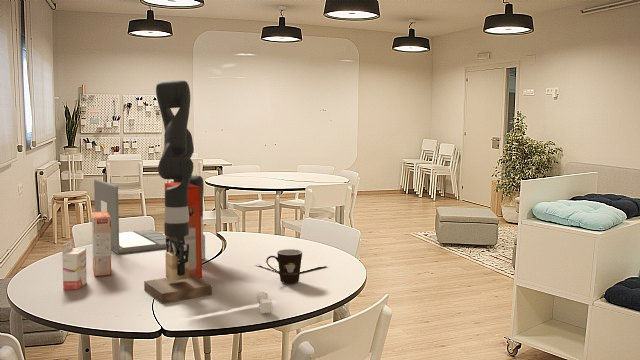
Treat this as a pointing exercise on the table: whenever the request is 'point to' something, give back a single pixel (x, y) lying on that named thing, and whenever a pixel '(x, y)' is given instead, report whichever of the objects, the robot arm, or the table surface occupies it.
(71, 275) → the ink cartridge box
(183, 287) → the walnut base
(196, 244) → the file binder
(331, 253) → the table surface
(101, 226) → the cracker box
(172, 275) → the oak block
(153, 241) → the laptop
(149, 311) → the table surface
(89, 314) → the table surface
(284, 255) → the coffee mug
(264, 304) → the game pieces
